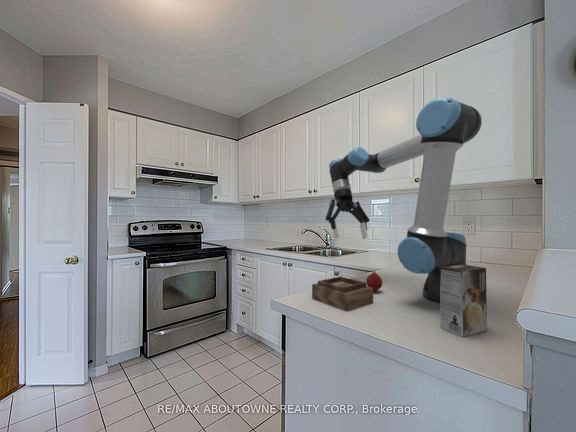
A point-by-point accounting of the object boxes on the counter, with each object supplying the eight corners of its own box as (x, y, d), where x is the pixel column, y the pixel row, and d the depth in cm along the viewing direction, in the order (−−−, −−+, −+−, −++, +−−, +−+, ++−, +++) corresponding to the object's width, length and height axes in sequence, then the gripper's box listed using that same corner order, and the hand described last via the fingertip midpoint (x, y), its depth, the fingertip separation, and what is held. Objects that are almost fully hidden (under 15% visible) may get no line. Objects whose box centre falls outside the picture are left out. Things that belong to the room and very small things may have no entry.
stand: (373, 303, 92) (373, 283, 92) (346, 311, 84) (346, 289, 84) (337, 292, 105) (337, 275, 105) (312, 298, 97) (312, 280, 97)
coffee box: (462, 322, 75) (462, 263, 75) (487, 331, 70) (487, 267, 70) (439, 327, 72) (439, 266, 72) (463, 337, 66) (463, 270, 66)
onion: (383, 294, 102) (383, 272, 102) (367, 293, 103) (367, 272, 103) (381, 290, 108) (381, 269, 108) (365, 289, 109) (365, 269, 109)
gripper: (361, 198, 129) (370, 241, 120) (313, 193, 120) (320, 239, 111) (370, 190, 122) (382, 235, 114) (321, 184, 113) (329, 232, 105)
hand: (351, 237), depth 112 cm, fingers open, 13 cm apart
